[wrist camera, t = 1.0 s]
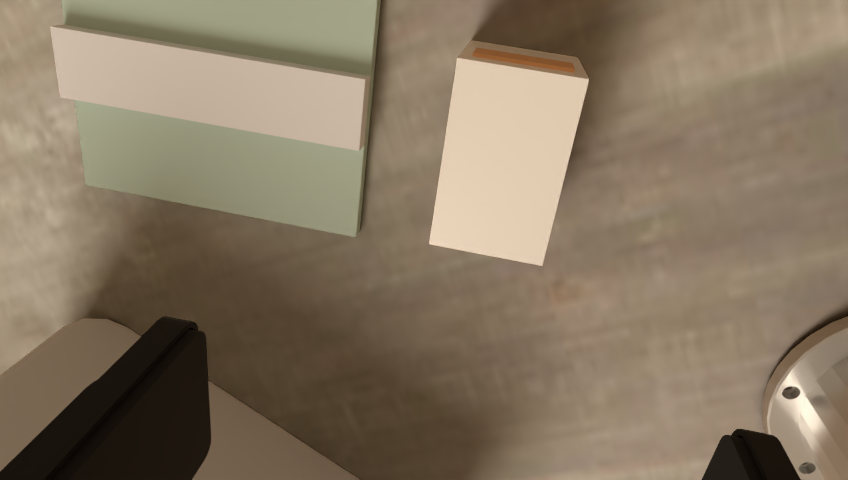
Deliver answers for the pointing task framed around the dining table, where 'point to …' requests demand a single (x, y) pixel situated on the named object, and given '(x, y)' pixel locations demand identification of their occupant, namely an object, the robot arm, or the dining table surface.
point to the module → (506, 150)
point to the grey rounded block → (92, 356)
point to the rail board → (225, 102)
